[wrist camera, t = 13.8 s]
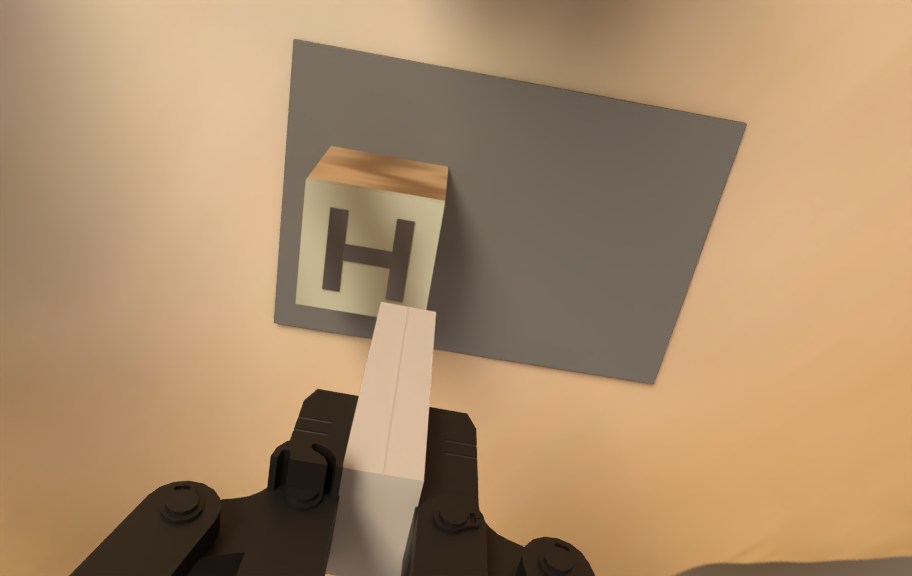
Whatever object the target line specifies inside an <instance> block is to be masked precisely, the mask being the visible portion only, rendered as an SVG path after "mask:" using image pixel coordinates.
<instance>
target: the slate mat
mask: <svg viewBox="0 0 912 576" xmlns="http://www.w3.org/2000/svg"><path fill="white" fill-rule="evenodd" d="M746 125H747V124H746V123H743V122H738V121H732V120H727V119H721V118H716V117H711V116H705V115H700V114H695V113H689V112H684V111H678V110H673V109H668V108H662V107H657V106H652V105H646V104H641V103H636V102H630V101H625V100H619V99H614V98H609V97H603V96H598V95H593V94H587V93H582V92H576V91H571V90H566V89H560V88H555V87H550V86H544V85H539V84H533V83H528V82H523V81H517V80H512V79H507V78H501V77H496V76H490V75H485V74H480V73H474V72H469V71H464V70H458V69H453V68H448V67H442V66H437V65H431V64H426V63H421V62H415V61H410V60H405V59H399V58H394V57H388V56H383V55H378V54H372V53H367V52H362V51H356V50H351V49H345V48H340V47H335V46H329V45H324V44H319V43H313V42H308V41H302V40H297V39H294V41H293V55H292V69H291V84H290V98H289V112H288V127H287V141H286V155H285V170H284V184H283V198H282V213H281V227H280V241H279V256H278V270H277V284H276V299H275V313H274V323H276V324H282V325H289V326H295V327H301V328H307V329H314V330H320V331H326V332H332V333H338V334H345V335H351V336H357V337H363V338H370V339H372V338H373V333H374V329H375V325H376V321H377V317H374V316H368V315H362V314H355V313H349V312H343V311H337V310H331V309H324V308H318V307H312V306H306V305H300V304H295V303H296V291H297V279H298V267H299V255H300V243H301V231H302V219H303V207H304V195H305V183H306V179H307V177H308V176H309V175H310V173H311V172H312V171H313V169H314V168H315V167H316V165H317V164H318V163H319V161H320V160H321V159H322V157H323V156H324V155H325V153H326V152H327V151H328V149H329V148H330V147H331V146H334V147H340V148H345V149H351V150H357V151H362V152H368V153H374V154H379V155H385V156H391V157H396V158H402V159H408V160H413V161H419V162H425V163H430V164H436V165H442V166H447V167H448V177H447V187H446V198H445V206H444V212H443V217H442V223H441V229H440V234H439V240H438V246H437V251H436V257H435V263H434V268H433V274H432V280H431V285H430V291H429V297H428V302H427V308H426V310H428V311H433V312H436V319H435V333H434V347H433V349H438V350H444V351H450V352H457V353H463V354H469V355H475V356H482V357H488V358H494V359H500V360H506V361H513V362H519V363H525V364H531V365H538V366H544V367H550V368H556V369H562V370H569V371H575V372H581V373H587V374H594V375H600V376H606V377H612V378H618V379H625V380H631V381H637V382H643V383H650V384H654V381H655V379H656V376H657V373H658V370H659V367H660V365H661V362H662V359H663V356H664V353H665V351H666V348H667V345H668V342H669V340H670V337H671V334H672V331H673V328H674V326H675V323H676V320H677V317H678V314H679V312H680V309H681V306H682V303H683V301H684V298H685V295H686V292H687V289H688V287H689V284H690V281H691V278H692V275H693V273H694V270H695V267H696V264H697V262H698V259H699V256H700V253H701V250H702V248H703V245H704V242H705V239H706V236H707V234H708V231H709V228H710V225H711V223H712V220H713V217H714V214H715V211H716V209H717V206H718V203H719V200H720V197H721V195H722V192H723V189H724V186H725V184H726V181H727V178H728V175H729V172H730V170H731V167H732V164H733V161H734V159H735V156H736V153H737V150H738V147H739V145H740V142H741V139H742V136H743V133H744V131H745V128H746Z"/></svg>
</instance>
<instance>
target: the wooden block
mask: <svg viewBox="0 0 912 576" xmlns="http://www.w3.org/2000/svg"><path fill="white" fill-rule="evenodd" d="M447 177H448V167H447V166H442V165H436V164H430V163H425V162H419V161H413V160H408V159H402V158H396V157H391V156H385V155H379V154H374V153H368V152H362V151H357V150H351V149H345V148H340V147H334V146H331V147H330V148H329V149H328V151H327V152H326V153H325V155H324V156H323V157H322V159H321V160H320V161H319V163H318V164H317V165H316V167H315V168H314V169H313V171H312V172H311V173H310V175H309V176H308V177H307V179H306V183H305V195H304V207H303V219H302V231H301V243H300V255H299V267H298V279H297V291H296V303H295V304H300V305H306V306H312V307H318V308H324V309H331V310H337V311H343V312H349V313H355V314H362V315H368V316H374V317H377V316H378V312H379V308H380V303H381V302H385V303H391V304H396V305H401V306H407V307H412V308H417V309H423V310H426V308H427V302H428V297H429V291H430V285H431V280H432V274H433V268H434V263H435V257H436V251H437V246H438V240H439V234H440V229H441V223H442V217H443V212H444V206H445V198H446V187H447Z"/></svg>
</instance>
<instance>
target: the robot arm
mask: <svg viewBox="0 0 912 576" xmlns="http://www.w3.org/2000/svg"><path fill="white" fill-rule="evenodd" d="M435 319H436V312H433V311H428V310H423V309H417V308H412V307H407V306H401V305H396V304H391V303H385V302H381V303H380V308H379V312H378V316H377V321H376V325H375V329H374V333H373V338H372V342H371V346H370V351H369V355H368V359H367V364H366V368H365V372H364V376H363V381H362V385H361V389H360V394H359V396H355V395H349V394H343V393H338V392H332V391H326V390H321V389H317V390H316V391H315V392H314V393H312V394H311V395H310V396H309V397H308V398H307V399H305V400H304V402H303V405H302V408H301V411H300V413H299V417H298V419H297V422H296V425H295V428H294V431H293V433H292V436H291V439H290V441H287V442H285V443H283V444H282V445H280V446H278V447H277V448H276V449H275V451H274V452H273V454H272V455H271V459H270V468H269V477H268V486H267V488H266V489H264V490H263V491H261V492H259V493H257V494H254V495H251V496H247V497H242V498H235V499H223V500H220V498H219V496H218V495H217V493H216V492H215V490H214V489H212V488H210V487H208V486H207V485H205V484H203V483H198V482H193V481H181V482H173V483H170V484H167V485H164V486H161V487H159V488H158V489H156V490H155V491H153V492H152V493H151V494H149V495H148V496H147V497H146V498H145V499H144V500H143V501H142V502H141V503H140V504H139V505H138V506H137V507H136V508H135V509H134V510H133V511H132V512H131V513H130V514H129V515H128V516H127V517H126V518H125V519H124V520H123V521H122V522H121V524H120V525H119V526H118V527H117V528H116V529H115V530H114V531H113V532H112V533H111V534H110V535H109V536H108V537H107V538H106V539H105V540H104V541H103V542H102V543H101V544H100V545H99V546H98V547H97V548H96V549H95V550H94V551H93V552H92V553H91V554H90V555H89V556H88V557H87V558H86V559H85V560H84V561H83V562H82V563H81V564H80V565H79V566H78V567H77V568H76V569H75V570H74V571H73V573H72V574H71V575H70V576H325V574H331V575H338V576H595V574H594V572H593V570H592V568H591V566H590V564H589V562H588V561H587V560H586V558H585V557H584V555H583V554H582V553H581V552H580V551H579V550H578V549H576V548H575V547H574V546H573V545H571V544H569V543H567V542H565V541H562V540H560V539H558V538H550V537H542V538H537V539H533V540H532V541H531V542H530V543H528V544H527V545H526V546H525V547H523V546H521V545H519V544H516V543H514V542H512V541H510V540H507V539H506V538H504V537H502V536H500V535H498V534H497V533H496V532H495V531H493V530H492V529H491V528H490V527H489V526H488V525H487V524H486V522H485V520H484V517H483V514H482V513H481V512H480V510H479V504H478V471H477V447H476V445H477V439H476V428H475V426H474V424H473V423H472V421H471V419H470V418H469V416H468V414H466V413H461V412H455V411H449V410H443V409H438V408H432V407H429V403H430V389H431V375H432V361H433V347H434V333H435Z"/></svg>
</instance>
